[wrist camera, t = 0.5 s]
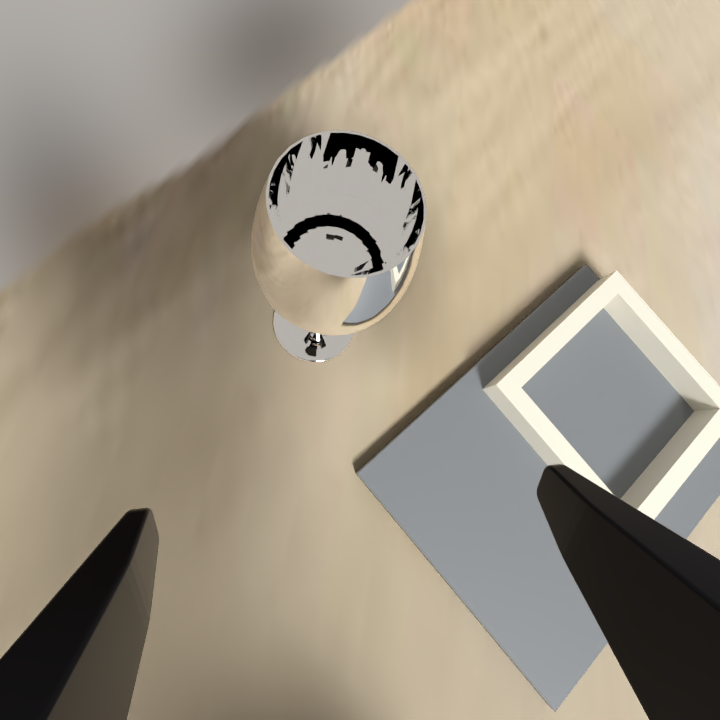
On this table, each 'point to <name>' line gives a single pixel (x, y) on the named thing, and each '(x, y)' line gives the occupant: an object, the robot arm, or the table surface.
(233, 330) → the table surface
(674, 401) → the square frame board
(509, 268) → the table surface
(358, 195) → the wineglass
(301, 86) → the table surface
